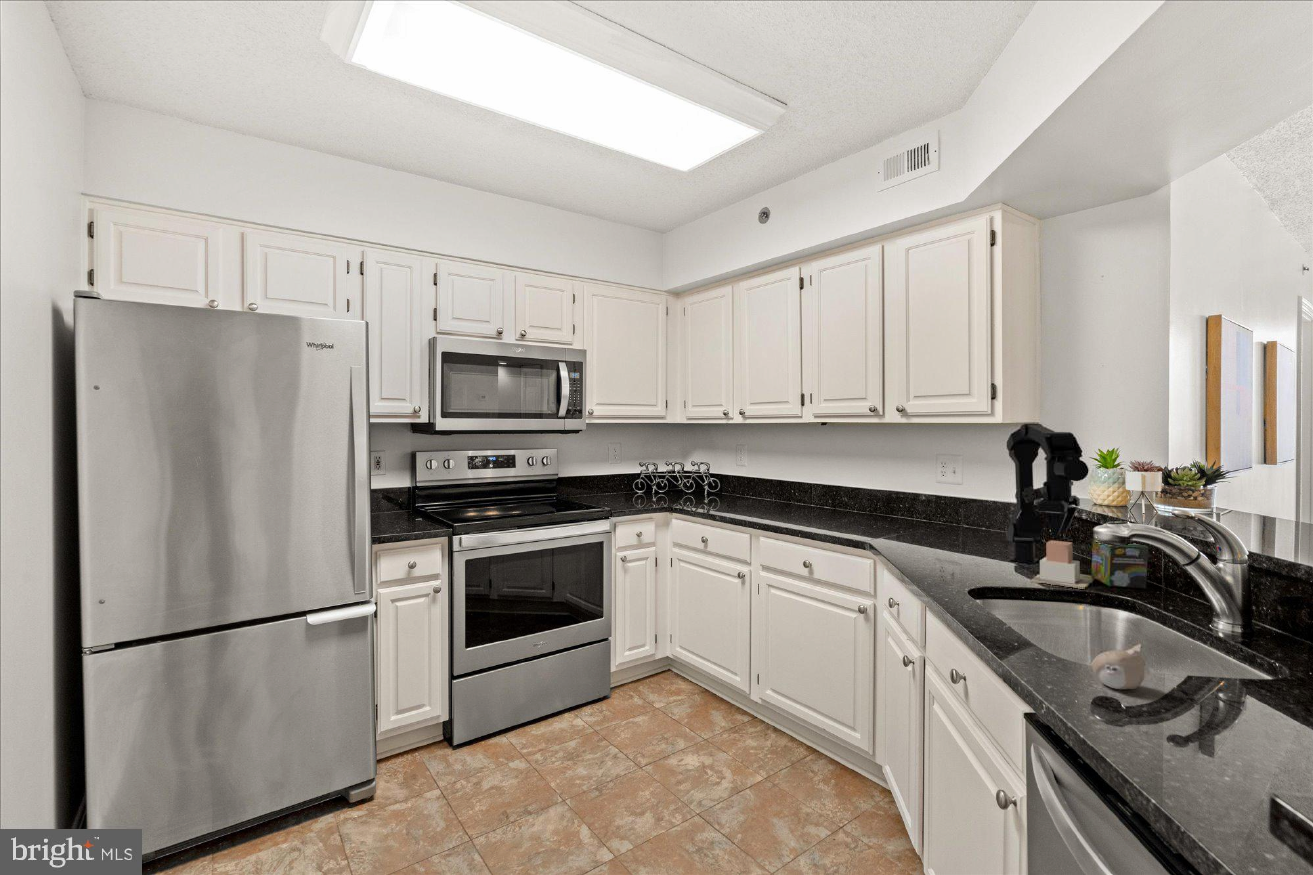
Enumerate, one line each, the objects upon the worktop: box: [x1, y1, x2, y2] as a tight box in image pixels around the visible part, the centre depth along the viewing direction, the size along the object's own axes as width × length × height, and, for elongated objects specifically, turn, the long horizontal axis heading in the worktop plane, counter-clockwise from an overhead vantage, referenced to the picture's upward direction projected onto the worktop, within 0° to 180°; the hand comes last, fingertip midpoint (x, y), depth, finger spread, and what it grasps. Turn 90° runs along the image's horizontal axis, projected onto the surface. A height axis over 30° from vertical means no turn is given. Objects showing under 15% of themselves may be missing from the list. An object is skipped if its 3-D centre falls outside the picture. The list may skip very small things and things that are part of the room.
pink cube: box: [1045, 540, 1073, 564], centre depth 164 cm, size 5×5×5 cm
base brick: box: [1039, 556, 1081, 584], centre depth 164 cm, size 8×6×5 cm
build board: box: [1030, 573, 1096, 590], centre depth 165 cm, size 16×12×1 cm
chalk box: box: [1090, 537, 1149, 589], centre depth 160 cm, size 9×9×15 cm
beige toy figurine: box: [1091, 643, 1146, 690], centre depth 99 cm, size 7×6×8 cm
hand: (1059, 534), depth 164 cm, fingers open, 9 cm apart
